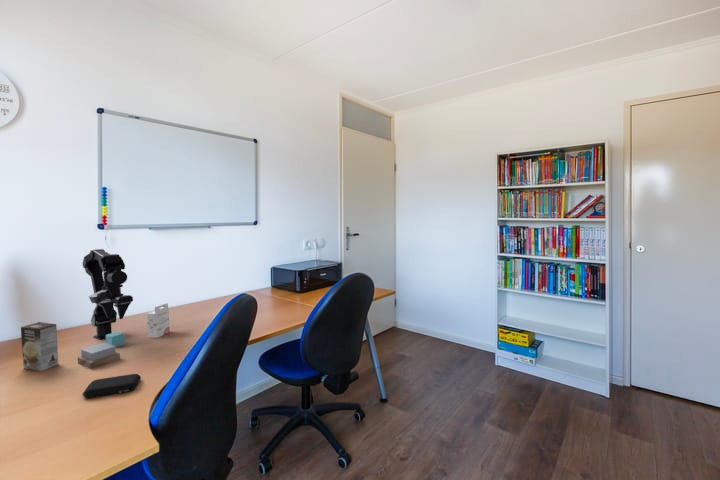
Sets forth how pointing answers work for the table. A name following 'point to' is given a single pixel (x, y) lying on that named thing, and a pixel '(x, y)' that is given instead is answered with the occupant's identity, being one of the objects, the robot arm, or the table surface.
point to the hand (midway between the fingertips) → (114, 318)
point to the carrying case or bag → (112, 385)
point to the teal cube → (115, 339)
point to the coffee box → (39, 346)
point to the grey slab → (98, 351)
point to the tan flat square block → (98, 361)
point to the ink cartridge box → (158, 321)
